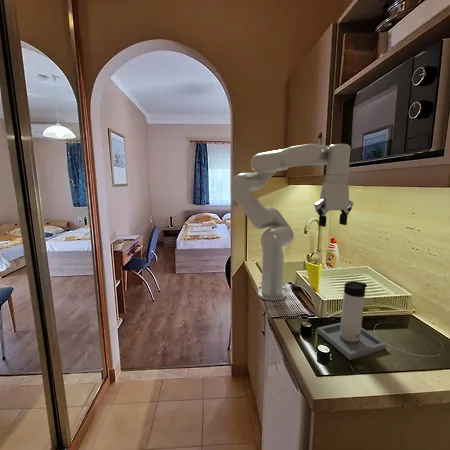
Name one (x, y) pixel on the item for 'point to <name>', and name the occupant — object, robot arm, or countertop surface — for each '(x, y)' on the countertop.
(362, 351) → the tray
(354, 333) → the travel mug
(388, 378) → the countertop surface
